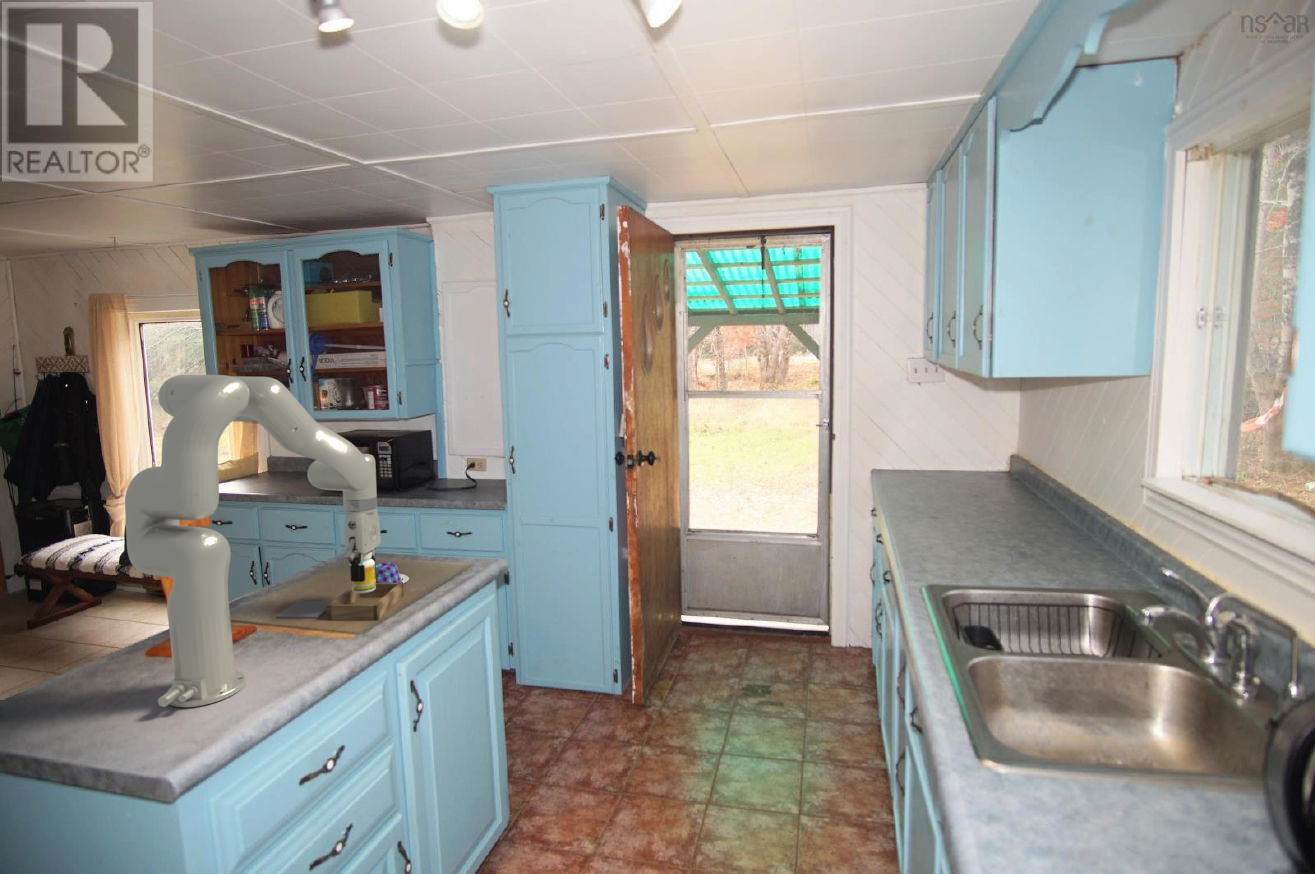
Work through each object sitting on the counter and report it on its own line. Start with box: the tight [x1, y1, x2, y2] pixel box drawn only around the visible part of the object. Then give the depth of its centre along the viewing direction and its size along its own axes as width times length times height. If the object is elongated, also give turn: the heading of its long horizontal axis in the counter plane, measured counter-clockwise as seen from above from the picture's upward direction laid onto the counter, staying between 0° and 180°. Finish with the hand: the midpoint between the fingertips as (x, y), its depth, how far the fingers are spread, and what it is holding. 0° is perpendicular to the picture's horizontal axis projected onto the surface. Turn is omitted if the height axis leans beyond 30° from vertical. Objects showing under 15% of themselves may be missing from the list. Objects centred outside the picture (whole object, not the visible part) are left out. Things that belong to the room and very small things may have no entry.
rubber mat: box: [275, 600, 334, 619], centre depth 170 cm, size 10×10×1 cm
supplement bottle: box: [351, 550, 376, 594], centre depth 170 cm, size 5×5×10 cm
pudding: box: [375, 562, 410, 584], centre depth 189 cm, size 12×12×5 cm
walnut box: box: [326, 582, 405, 621], centre depth 172 cm, size 16×12×4 cm
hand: (363, 576), depth 170 cm, fingers closed on supplement bottle, 5 cm apart
